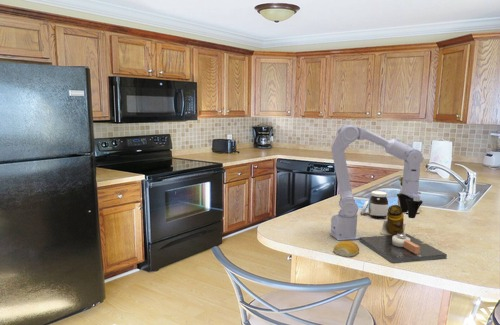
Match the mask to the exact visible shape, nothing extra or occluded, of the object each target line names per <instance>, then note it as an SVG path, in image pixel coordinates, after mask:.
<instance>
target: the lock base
mask: <svg viewBox="0 0 500 325" xmlns="http://www.w3.org/2000/svg"><path fill="white" fill-rule="evenodd" d="M393 236H394V235H375V236H359V237H360V239H358V240H359V242H360V243H362V244H363V245H365V246H366V247H367V248H369V249H371V250H372V251H374V252H375V253H377V255H379V256H381V257H383V258H384V259H385V260H387V261H388V262H390V263H391V264H396V263H398V264H399V263H409V262H411V263H412V262H421V261H431V260H432V261H433V260H444V259H447V256H448V255H447V253H445V252H443V251H442V250H440V249H437V248H435V247H433V245H432V246H431V245H430V244H428V243H426V242H424V241H421V240H420V239H418V238H415V237H414V236H412V235H410V234H408V233H404V234H403V233H397V237H398V238H406V237H409V238H410V241H411V242H412V243H414V244H416V245H418V246H420V253H419V254H414V253H413V252H411V251H409V250H408V249H406V248H404V247H398V246H395V245H393V244H392V237H393Z"/></svg>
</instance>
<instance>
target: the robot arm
mask: <svg viewBox="0 0 500 325" xmlns="http://www.w3.org/2000/svg"><path fill="white" fill-rule="evenodd" d="M356 140H358V141H362V140H363V141H364V140H367V141H368V142H371V143H373V144H376V145H377V146H381V147H382V148H383V149H384V150H385V152H386V154H389V155H391V156H393V157H395V158H397V159H399V160H403V162H404V163H403V164H404V165H403V171H402V172H403V173H402V177H403V182H402V186H401V187H400V189H399V192H401V194H399V193H397V194H396V196H397V200H398V199H399V202H400V207H401V208H402V212H403V214H406V213H407V212H408V214H407V216H408V217H407V218H409V219H416V216H417V214H418V213H417V211H418V209H419V210H420V207H421V206H422V205H423V200H422V199H421V196H420V195H421V194H422V192H421V191H419V185H420V175H421V174H420V172H421V163H423V161H424V156H423V152H422V151H420V150H419V149H416V148H414V147H413V145H411V144H407V143H403V142H402V141H401V139H399V138H396V139H395V138H391V139H386V138H384V137H382V136H380V135H379V134H376V133H374V132H373V131H371V130H369V129H366V128H363V127H359V126H355V125H353V124H349V123H347V124H346V123H345V124H343V125H342V126H341V127H339V129H338V130H337V132H336V135H335V137H334V139H333V142H332V144H331V147H330V148H331V153H332V159H333V165H334V169H335V176H336V179H337V185H338V186H337V187H338V190H339V202H338V205H339V208H340V210H339V211H338V213H337V214H335V215H332V217H331V220H330V223H331V224H330V232H329V234H330V236H332V237H333V238H334V239H336V240H337V241H351V240H359V239H360V237H361V236H358V235H357V225H358V211H359V206H358V204H357V203H356V199H355V198H354V193H353V190H352V186H351V181H350V180H351V179H350V174H349V169H348V165H347V160H346V154H345V150H346V149H347V148H348V147H349V146H350V145H351V144H353V142H355V141H356Z"/></svg>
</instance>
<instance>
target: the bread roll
mask: <svg viewBox="0 0 500 325" xmlns="http://www.w3.org/2000/svg"><path fill="white" fill-rule="evenodd" d="M333 252H334V254H336V255H338V256H341V257H345V258H351V257H355V256H357V255H358V254H359V253H360V248H359V246H358V244H357V243H355V242H354V241H351V240H341V241H339V242H337V243H336V244H335V245H334V246H333Z"/></svg>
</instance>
